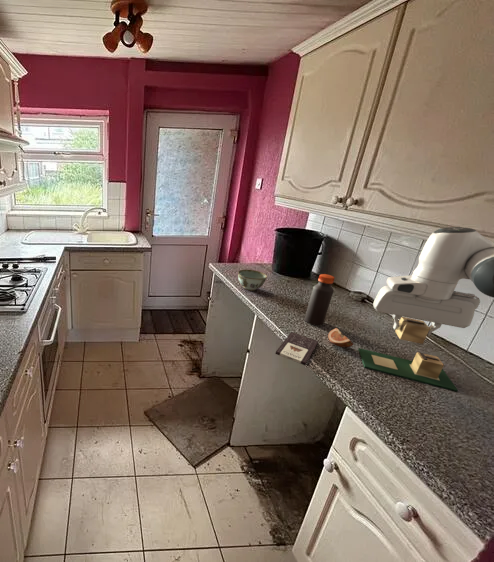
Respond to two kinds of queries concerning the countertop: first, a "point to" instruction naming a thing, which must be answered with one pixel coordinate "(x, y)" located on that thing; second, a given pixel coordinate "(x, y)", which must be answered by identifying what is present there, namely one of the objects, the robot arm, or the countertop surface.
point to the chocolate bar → (297, 348)
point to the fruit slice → (339, 338)
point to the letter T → (427, 365)
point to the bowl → (251, 279)
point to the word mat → (402, 369)
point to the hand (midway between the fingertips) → (410, 331)
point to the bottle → (320, 300)
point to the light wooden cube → (412, 330)
